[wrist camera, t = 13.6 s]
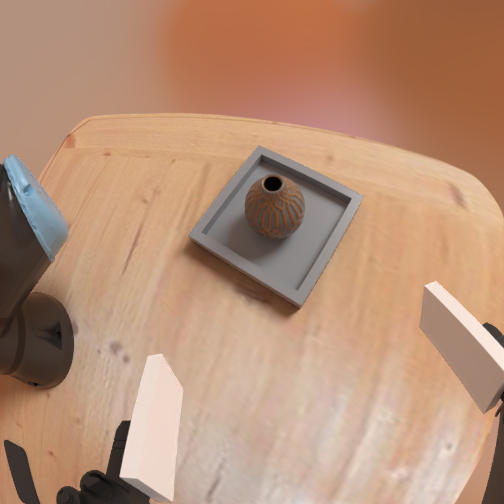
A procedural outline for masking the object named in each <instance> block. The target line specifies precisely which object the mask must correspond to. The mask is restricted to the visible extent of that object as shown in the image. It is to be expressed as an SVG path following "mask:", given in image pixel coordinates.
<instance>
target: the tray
mask: <svg viewBox="0 0 504 504" xmlns="http://www.w3.org/2000/svg"><path fill="white" fill-rule="evenodd" d="M269 174H277V175H280V176H284V177H286V178H288V179H290V180H292V181H293V182H294V183H295V184H296V185H297V186H298V187H299V189H300V190H301V192H302V194H303V197H304V201H305V215H304V218H303V221H302V223H301V225H300V227H299V228H298V229H297V230H296V231H295V232H294V233H293V234H292V235H290V236H288V237H286V238H283V239H277V240H274V239H268V238H265V237H263V236H261V235H259V234H258V233H256V232H255V231H254V230H253V229H252V227H251V226H250V224H249V223H248V220H247V218H246V215H245V199H246V195H247V193H248V191H249V189H250V187H251V186H252V185H253V184H254V183H255V182H256V181H257V180H259V179H261V178H263V177H265V176H266V175H269ZM363 197H364V196H363V195H361V194H359V193H357V192H355V191H353V190H352V189H350V188H348V187H346V186H344V185H342V184H340V183H338V182H336V181H334V180H332V179H330V178H328V177H326V176H324V175H322V174H320V173H318V172H316V171H314V170H312V169H310V168H308V167H306V166H304V165H302V164H299V163H297V162H295V161H293V160H291V159H289V158H286V157H284V156H282V155H280V154H277V153H275V152H273V151H271V150H268V149H266V148H264V147H261V146H258V147H257V148H256V149H255V151H254V152H253V153H252V154H251V156H250V157H249V158H248V159H247V160H246V162H245V163H244V164H243V165H242V167H241V168H240V169H239V170H238V172H237V173H236V174H235V175H234V177H233V178H232V179H231V180H230V182H229V183H228V184H227V185H226V187H225V188H224V189H223V190H222V192H221V193H220V194H219V196H218V197H217V198H216V199H215V201H214V202H213V203H212V205H211V206H210V207H209V209H208V210H207V211H206V212H205V214H204V215H203V216H202V218H201V219H200V220H199V222H198V223H197V224H196V226H195V227H194V228H193V230H192V231H191V232H190V234H189V235H188V236H189V237H190V238H191V239H192V241H193V242H194V243H195V244H197V245H198V246H200V247H202V248H203V249H205V250H206V251H208V252H209V253H211V254H213V255H214V256H216V257H217V258H219V259H220V260H222V261H224V262H225V263H227V264H228V265H230V266H232V267H233V268H235V269H236V270H238V271H240V272H241V273H243V274H244V275H246V276H248V277H249V278H251V279H252V280H254V281H256V282H257V283H259V284H261V285H262V286H264V287H265V288H267V289H269V290H270V291H272V292H274V293H275V294H277V295H278V296H280V297H282V298H283V299H285V300H287V301H288V302H290V303H292V304H293V305H295V306H297V307H298V308H300V309H301V307H302V305H303V304H304V302H305V301H306V299H307V297H308V296H309V294H310V292H311V291H312V289H313V288H314V286H315V284H316V283H317V281H318V279H319V278H320V276H321V274H322V272H323V271H324V269H325V267H326V266H327V264H328V262H329V260H330V259H331V257H332V255H333V254H334V252H335V250H336V248H337V247H338V245H339V243H340V241H341V239H342V238H343V236H344V234H345V232H346V230H347V229H348V227H349V225H350V223H351V221H352V219H353V218H354V216H355V214H356V212H357V210H358V208H359V206H360V204H361V202H362V200H363Z"/></svg>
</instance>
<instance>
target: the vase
mask: <svg viewBox="0 0 504 504" xmlns="http://www.w3.org/2000/svg"><path fill="white" fill-rule="evenodd" d="M245 215H246V218H247V220H248V223H249V224H250V226H251V227H252V229H253V230H254V231H255V232H256V233H258V234H259V235H261V236H263V237H265V238H268V239H274V240H277V239H283V238H286V237H288V236H290V235H292V234H293V233H294V232H295V231H296V230H297V229H298V228H299V227H300V225H301V223H302V221H303V218H304V215H305V201H304V197H303V194H302V192H301V190H300V189H299V187H298V186H297V185H296V184H295V183H294V182H293V181H292V180H290V179H288V178H286V177H284V176H280V175H277V174H269V175H266V176H265V177H263V178H261V179H259V180H257V181H256V182H255V183H254V184H253V185H252V186H251V187H250V189H249V191H248V193H247V195H246V199H245Z"/></svg>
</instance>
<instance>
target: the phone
mask: <svg viewBox="0 0 504 504" xmlns="http://www.w3.org/2000/svg"><path fill="white" fill-rule="evenodd" d="M4 447H5V451H6V455H7V459H8V463H9V467H10V471H11V474H12V478H13V481H14V484H15V487H16V490H17V493H18V496H19V498H20V500H21V501H22V502H23V503H25V504H40V503H39V499H38V496H37V493H36V490H35V487H34V483H33V480H32V476H31V472H30V468H29V464H28V460H27V455H26V452H25V451H24V449H23V448H21V447H19V446H18V445H16V444H14V443H12V442H10V441H8V440H4Z"/></svg>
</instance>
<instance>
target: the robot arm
mask: <svg viewBox="0 0 504 504" xmlns="http://www.w3.org/2000/svg"><path fill="white" fill-rule="evenodd" d="M67 237H68V224H67V222H66V220H65V218H64V216H63V215H62V213H61V212H60V210H59V209H58V207H57V206H56V205H55V203H54V202H53V200H52V199H51V198H50V196H49V195H48V194H47V192H46V191H45V190H44V188H43V187H42V186H41V184H40V183H39V182H38V181H37V179H36V178H35V177H34V175H33V174H32V173H31V172H30V170H29V169H28V168H27V167H26V166H25V164H24V163H23V162H22V161H21V160H20V159H18V158H17V156H15V155H10V156H9V157H8V158H5V159H4V160H3V164H0V374H4V375H10V376H12V377H14V378H16V379H18V380H20V381H22V382H24V383H27V384H29V385H31V386H33V387H38V388H50V387H54V386H56V385H58V384H59V383H60V382H61V381H62V380H63V379H64V378H65V377H66V375H67V373H68V371H69V369H70V366H71V362H72V358H73V351H74V338H73V330H72V325H71V322H70V319H69V316H68V314H67V312H66V310H65V308H64V307H63V305H62V304H61V303H60V302H59V301H58V300H57V299H55V298H54V297H52V296H49V295H46V294H43V293H38V292H35V293H30V292H31V291H32V289H33V288H34V286H35V285H36V284H37V282H38V281H39V279H40V278H41V277H42V275H43V274H44V272H45V271H46V270H47V268H48V267H49V266H50V264H51V263H53V262H54V260H55V256H56V254H57V253H58V251H59V250H60V249H61V247H62V246H63V244H64V243H65V242H66V240H67ZM419 327H420V328H421V330H422V331H423V332H424V333H425V335H426V336H427V337H428V338H429V340H430V341H431V342H432V344H433V345H434V346H435V347H436V349H437V350H438V351H439V353H440V354H441V355H442V357H443V358H444V359H445V361H446V362H447V363H448V365H449V366H450V367H451V369H452V370H453V371H454V373H455V374H456V376H457V377H458V378H459V380H460V381H461V382H462V384H463V385H464V387H465V388H466V390H467V391H468V392H469V394H470V395H471V397H472V398H473V400H474V401H475V403H476V404H477V406H478V407H479V409H480V410H481V412H482V413H483V414H484V413H486V412H487V411H489V410H490V409H492V408H493V407H495V406H496V404H497V402H498V401H499V399H500V398H501V400H502V401H503V403H502V404H501V406H500V407H499V409H498V410H497V412H496V414H495V417H497V415H498V414H499V413H500V422H499V429H498V436H497V442H496V448H495V453H494V458H493V463H492V467H491V471H490V476H489V480H488V484H487V487H486V491H485V494H484V497H483V501H482V504H504V335H502V333H501V332H500V331H499V330H498V329H497V328H496V327H495V326H493V325H491V324H489V323H487V322H486V323H485V324H483V325H481V324H480V323H479V322H478V321H477V320H476V319H475V318H474V317H473V316H472V315H471V314H470V313H469V312H468V311H467V310H466V309H465V308H464V307H463V306H462V305H461V304H460V303H459V302H458V301H457V300H456V299H455V298H454V297H453V296H451V295H450V294H449V293H448V292H447V291H446V290H445V289H444V288H443V287H442V286H441V285H440V284H438V283H437V282H436V281H435V282H432V283H429V284H427V285H424V293H423V303H422V311H421V319H420V326H419ZM182 396H183V388H182V386H181V385H180V383H179V381H178V380H177V378H176V377H175V375H174V373H173V372H172V370H171V368H170V367H169V365H168V363H167V362H166V360H165V358H164V356H163V355H162V354H157V355H150V356H148V358H147V361H146V365H145V369H144V372H143V376H142V380H141V384H140V387H139V391H138V395H137V399H136V403H135V407H134V411H133V415H132V420H131V421H122V422H121V424H120V425H119V427H118V428H117V430H116V434H115V438H114V442H113V446H112V448H113V449H112V450H111V454H110V459H109V463H108V468H107V472H106V475H105V474H104V473H102V472H100V471H98V470H92V471H89V472H87V473H86V474H85V475H83V477H82V479H81V481H80V488H81V491H78V490H76V489H75V488H73V487H70V486H65V487H63V488H61V489H60V490H59V491H58V494H57V500H56V501H57V504H150V503H149V499H150V498H152V499H154V500H155V501H163V502H173V494H174V480H175V467H176V455H177V444H178V433H179V423H180V414H181V405H182ZM500 411H501V412H500Z"/></svg>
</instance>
